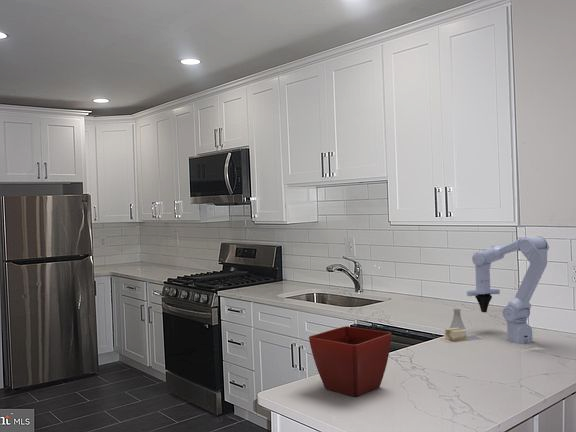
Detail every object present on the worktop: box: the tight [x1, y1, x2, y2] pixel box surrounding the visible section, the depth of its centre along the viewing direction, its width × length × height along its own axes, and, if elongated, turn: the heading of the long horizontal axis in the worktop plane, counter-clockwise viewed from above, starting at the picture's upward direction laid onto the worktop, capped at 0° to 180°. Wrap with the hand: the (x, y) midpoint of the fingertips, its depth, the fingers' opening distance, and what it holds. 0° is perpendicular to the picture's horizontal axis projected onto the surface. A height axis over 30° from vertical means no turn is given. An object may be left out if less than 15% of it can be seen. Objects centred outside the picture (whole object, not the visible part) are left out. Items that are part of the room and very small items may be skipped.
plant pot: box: [308, 325, 392, 397], centre depth 169 cm, size 19×19×17 cm
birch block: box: [444, 327, 467, 343], centre depth 220 cm, size 6×6×4 cm
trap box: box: [439, 334, 489, 343], centre depth 221 cm, size 7×18×2 cm, turn 102°
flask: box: [449, 308, 466, 330], centre depth 240 cm, size 7×7×10 cm
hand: (484, 312), depth 229 cm, fingers closed
